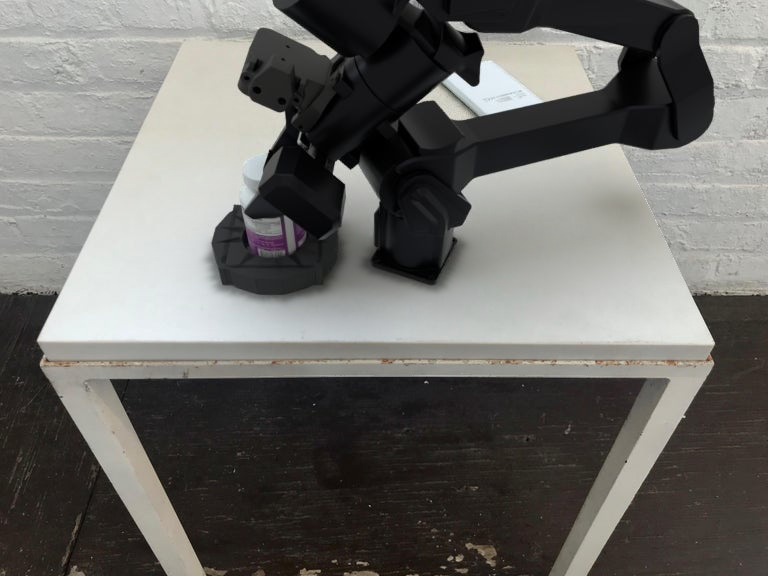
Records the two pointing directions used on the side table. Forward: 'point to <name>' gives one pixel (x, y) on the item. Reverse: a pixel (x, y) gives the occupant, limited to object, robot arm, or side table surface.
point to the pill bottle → (272, 232)
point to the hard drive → (491, 91)
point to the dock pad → (269, 260)
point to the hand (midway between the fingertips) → (255, 194)
